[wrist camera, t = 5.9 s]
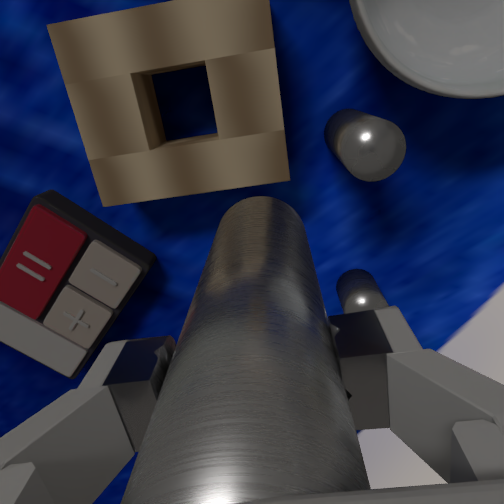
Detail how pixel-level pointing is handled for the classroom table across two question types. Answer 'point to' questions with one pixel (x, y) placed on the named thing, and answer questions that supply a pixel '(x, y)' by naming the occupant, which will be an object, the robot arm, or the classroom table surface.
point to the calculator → (65, 282)
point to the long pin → (251, 378)
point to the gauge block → (146, 106)
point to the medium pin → (365, 144)
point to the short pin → (359, 292)
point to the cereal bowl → (438, 43)
